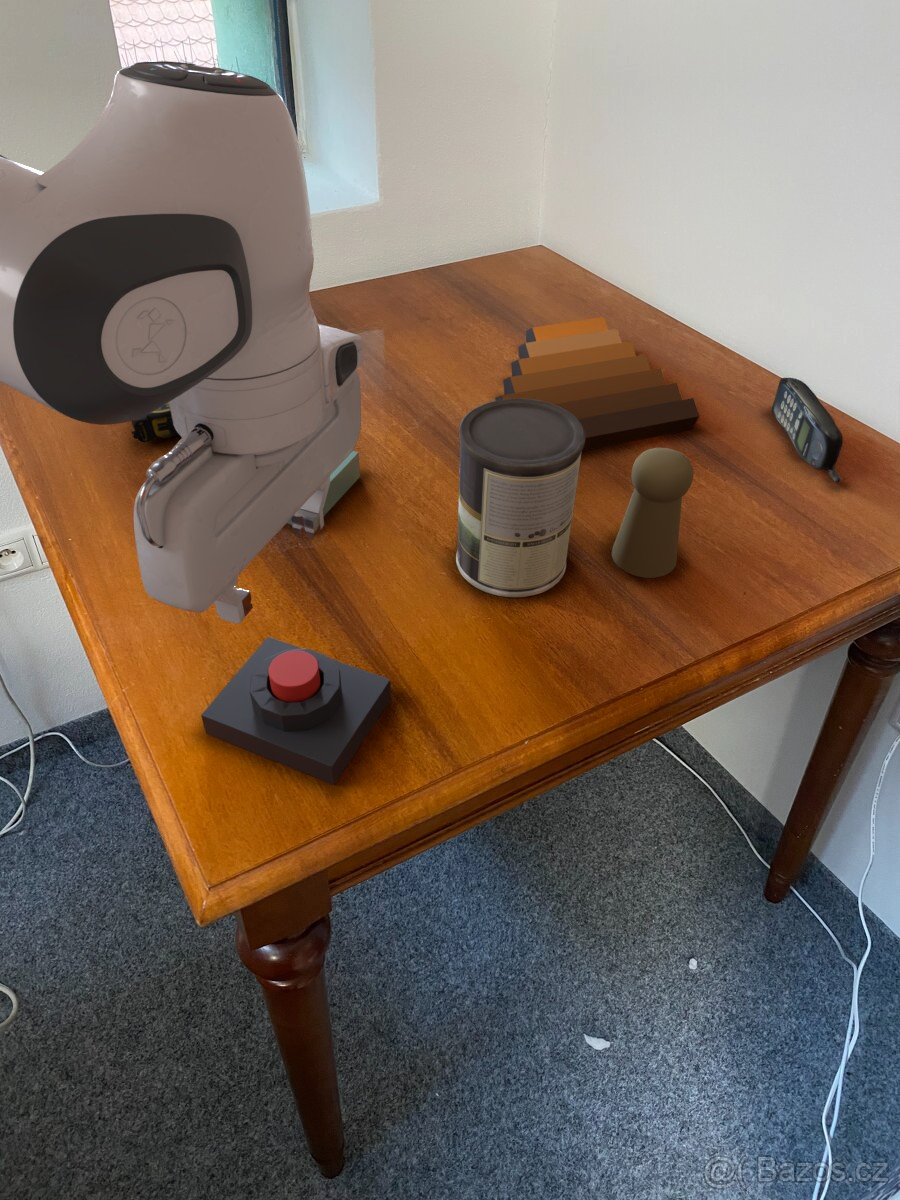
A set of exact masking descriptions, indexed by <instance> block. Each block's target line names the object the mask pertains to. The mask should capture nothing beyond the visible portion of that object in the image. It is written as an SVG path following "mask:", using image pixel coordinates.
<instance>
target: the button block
mask: <svg viewBox="0 0 900 1200" xmlns="http://www.w3.org/2000/svg"><path fill="white" fill-rule="evenodd" d="M289 651H304V652H307V653H309V654H311V655H312V656H313V657H314V658H315V659H316V660H317V662H318V666H319V674H320V687H319V689H318V691H317V692H316V693H315V694H314V695H313V696H312V697H311V698H309V699H307V700H305V701H301V702H285V701H282V700H280V699H278V698H277V697H276V696H275V695H274V694H273V692H272V689H271V684H270V679H269V673H268V670H269V666H270V664H271V662H272V661H273V660H274V659H275V658H276V657H277V656H279V655H280V654H282V653H285V652H289ZM391 682H392V681H391V679H390V678H387V677H385V676H381V675H378V674H376V673H373V672H370V671H368V670H364V669H362V668H359V667H356V666H353V665H350V664H347V663H345V662H341V661H339V660H336V659H333V658H331V657H329V656H328V655H327V654H324V653H321V652H319V651H316V650H312V649H309V648H302V647H300V646H296V645H293V644H291V643H288V642H285V641H282V640H279V639H276V638H274V637H271V636H267V637H266V638H265V639H264V640H263V642H262V643H261V644H260V645H259V647H258V648H257V649H256V650H255V651H254V652H253V653H252V655H251V656H250V657H249V658H248V659H247V660H246V662H244V664H243V665H242V666H241V667H240V668H239V670H237V672H236V673H235V675H234V676H233V677H232V678H231V679H230V680H229V681H228V683H227V684H226V685H225V686H224V688H222V690H221V691H220V692H219V693H218V695H217V696H216V697H215V698H214V699H213V700H212V702H210V704H209V705H208V706H207V707H206V708H205V710H204V711H203V712H202V713H201V715H200V717H201V721H202V725H203V728H204V732H205V734H206V735H208V736H210V737H213V738H215V739H218V740H220V741H223V742H225V743H228V744H230V745H232V746H235V747H238V748H240V749H242V750H245V751H248V752H250V753H252V754H255V755H257V756H260V757H262V758H265V759H268V760H271V761H273V762H276V763H278V764H280V765H283V766H285V767H287V768H290V769H293V770H296V771H297V772H300V773H302V774H305V775H308V776H309V777H312V778H315V779H318V780H320V781H323V782H325V783H327V784H331V785H333V786H335V785H336V783H337V782H338V780H339V779H340V777H341V775H342V774H343V772H344V771H345V769H346V767H348V765H349V764H350V762H351V760H352V759H353V757H354V756H355V755H356V753H357V752H358V751H359V748H360V747H361V745H362V744H363V742H364V740H365V739H366V737H367V736H368V735H369V733H370V732H371V730H372V728H373V727H374V726H375V724H376V722H377V721H378V719H379V718H380V717H381V714H383V712H384V710H385V709H386V707H387V706H388V704H389V703H390V701H391V699H392V685H391Z"/></svg>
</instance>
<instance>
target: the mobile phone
mask: <svg viewBox="0 0 900 1200" xmlns="http://www.w3.org/2000/svg"><path fill="white" fill-rule="evenodd" d="M773 399H774V400H773V402H772V407H771V413H772V415H773V416H774V418H775V419H776V420H777V422H778V423H779V425H780V426H781V428H782V429H783V430H784V432H785V433H786V435H787V436H788V437H789V439H790V441H791V442H792V445H793V447H794V448H795V450H796V453H797V454H798V456H799V457H800V458H801V459H802V460H803V461H804V462H805V463H807V465H810V466H811V467H812V468H813V469H814V470H817V471H824V472H826V473H827V475H829V477H830V478H831V479H832V480H833V482H835V483H836V484H839V483H841V482H842V478H841V476H840V475H839V474H838V473H837V472H836V464H837V462H838V459H839V457H840V455H841V452H842V448H843V442H844V437H843V433H842V432H841V431H840V429H839V427H838V426H837V424H836V421H835V419H834V418H833V416H832V415H831V414H830V412H829V411H828V410H827V409H826V407H825V406H824V405H823V404H822V402H821V401H820V400H819V398H818V397H817V395H816V394H815V393H814V391H813V390H812V389H811V388H810V387H809V386H808V385H807V384H806V383H805V382H804V381H802V380H800V379H798V378H795V377H782V378H780V380H779V382H778V385H777V389H776V392H775V396H774V398H773Z"/></svg>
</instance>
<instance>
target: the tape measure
mask: <svg viewBox="0 0 900 1200" xmlns="http://www.w3.org/2000/svg"><path fill="white" fill-rule="evenodd" d="M130 422H131V424H132V428H133V430H131V431H130V433H131V435H132V438H133V440H137V441H138V442H139V443H143V444H146V443H149V442H153V440H154V439H170V438H174V437H176V436H180V435H179V434H178V432H177V431H176V429H175V427H174V424H173V420H172V415H171V411H170V406H169V402H168V403H167V404H165V405H163V406H162V407H160V408H158V409H156V410H155V411H153V412H151V413H149V414H147V415H145V416H143V417H140V418H138V419H135V420H132V421H130Z"/></svg>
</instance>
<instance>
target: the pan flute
mask: <svg viewBox="0 0 900 1200" xmlns="http://www.w3.org/2000/svg"><path fill="white" fill-rule="evenodd" d="M525 341H526V342H524V343H522V344H520V345H519V346H518V359H516V360H514V361H512V362H511V364H510V365H511V376H509V377H507V378H504V379H503V394H502V395H499V396H497V397H494V398H495V399H494V401H496V400H502V399H513V398H514V399H521V398H522V399H533V400H539V401H544V402H547V403H551V404H554V405H556V406H559V407H561V408H563V409H565V410H567V411H568V412H570V413H571V414H573V415H574V416H575V417H576V418H577V419H578V420H579V421H580V423H581V424H582V426H583V427H584V430H585V444H584V447H583V450H582V452H583V451H588V450H595V449H599V448H604V447H610V446H615V445H621V444H625V443H630V442H635V441H640V440H645V439H646V440H647V439H650V438H656V437H660V436H666V435H671V434H675V433H682V432H686V431H691V430H693V429H694V427H695V426H696V424H697V421H698V420H699V418H700V414H699V411H698V407H697V404H696V401H695V399H694V397H690V398H686V399H683V397H682V394H681V390H680V388H679V386H678V383H677V382H673V383H667V382H666V380H665V377H664V374H663V370H662V368H660V367H659V368H654V369H651V366H650V363H649V360H648V358H647V355H646V354H640V355H636V351H635V350H634V345H633V343H632V341H631V340H630V341H623V342H622V338H621V335H620V333H619V330H618V328H613V329H609V328H608V325H607V321H606V318H605V316H599V317H593V318H586V319H580V320H573V321H566V322H560V323H552V324H546V325H540V326H539V325H538V326H533V327H530V328H528V329H527V330H525Z"/></svg>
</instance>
